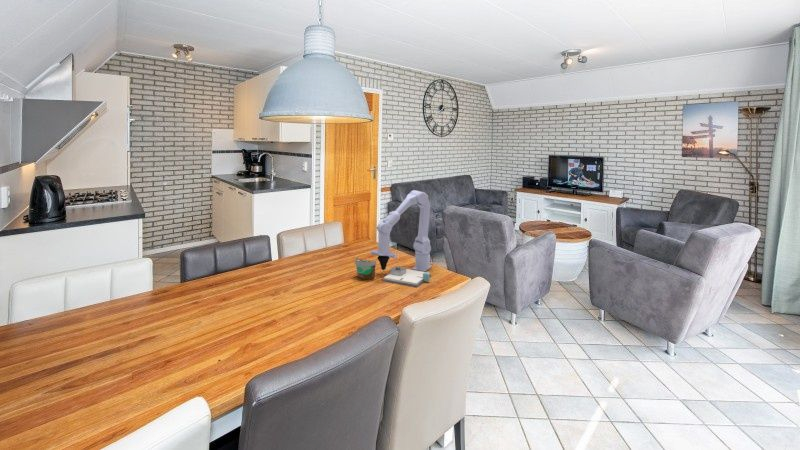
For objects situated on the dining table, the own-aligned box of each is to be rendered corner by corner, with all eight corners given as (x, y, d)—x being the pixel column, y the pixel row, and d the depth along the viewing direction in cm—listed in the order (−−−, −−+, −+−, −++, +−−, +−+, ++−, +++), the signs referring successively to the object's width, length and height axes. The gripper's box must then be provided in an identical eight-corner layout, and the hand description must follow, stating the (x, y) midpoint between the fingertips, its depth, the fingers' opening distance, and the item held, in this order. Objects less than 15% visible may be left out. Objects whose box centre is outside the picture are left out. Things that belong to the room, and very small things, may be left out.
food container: (350, 278, 211) (349, 259, 209) (356, 275, 216) (356, 257, 214) (370, 282, 206) (370, 263, 203) (376, 279, 211) (376, 260, 209)
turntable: (399, 269, 224) (399, 263, 223) (435, 275, 215) (435, 269, 214) (383, 279, 208) (384, 272, 207) (422, 286, 199) (422, 279, 198)
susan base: (398, 270, 225) (398, 269, 225) (431, 276, 217) (431, 274, 217) (382, 281, 208) (382, 279, 208) (416, 287, 200) (416, 286, 200)
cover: (395, 270, 218) (395, 264, 218) (406, 272, 216) (406, 266, 215) (389, 274, 213) (389, 267, 212) (400, 276, 210) (400, 269, 209)
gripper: (368, 244, 214) (367, 269, 217) (392, 248, 208) (392, 273, 211) (374, 241, 221) (374, 265, 223) (398, 244, 214) (398, 269, 217)
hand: (383, 269), depth 218 cm, fingers closed
